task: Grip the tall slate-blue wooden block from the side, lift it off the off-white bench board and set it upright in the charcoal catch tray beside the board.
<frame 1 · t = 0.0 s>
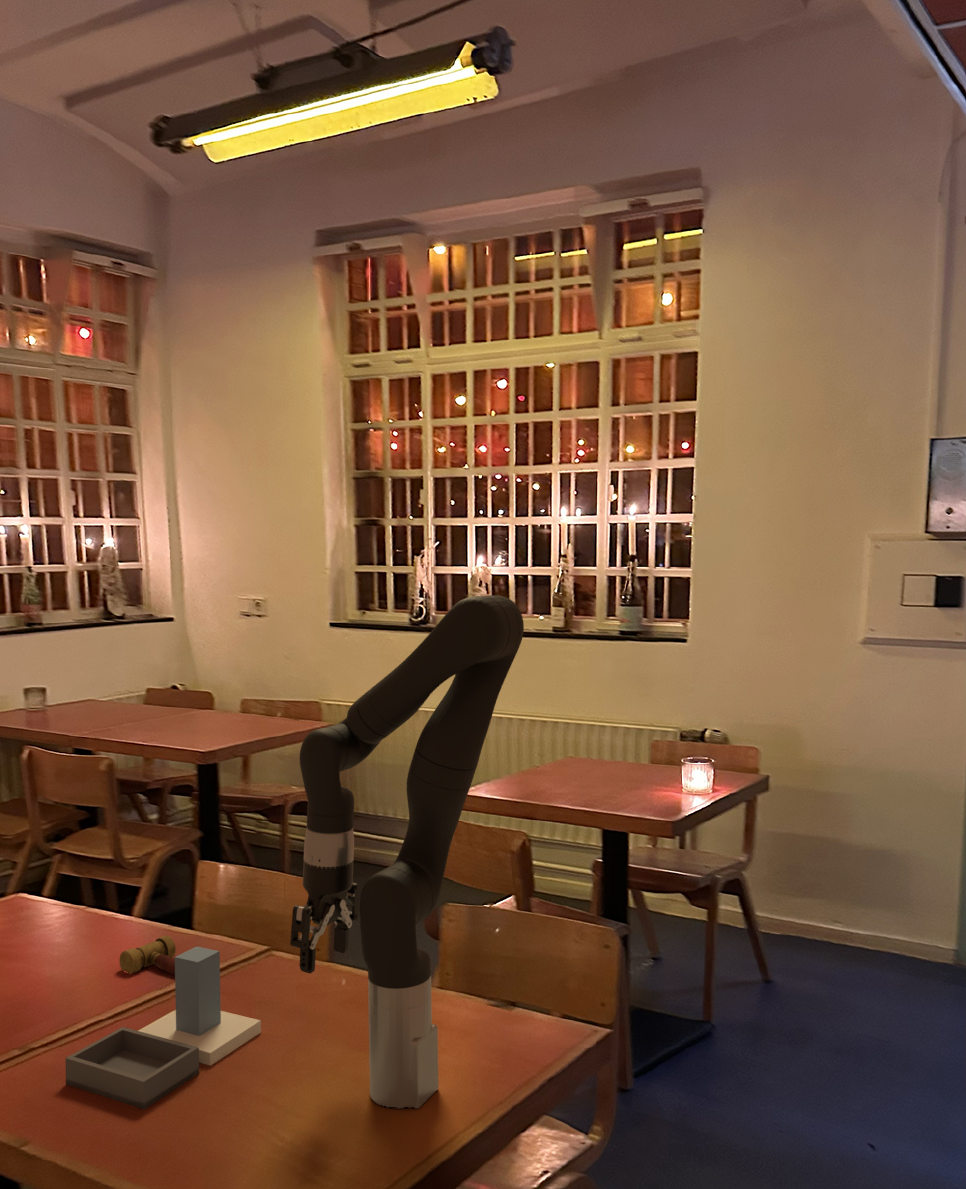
hand: (324, 961, 145), 17 cm above the table, tool pointing down, fingers open, 8 cm apart
tile block: (198, 1026, 157), point 2 cm above the table, touching bench board
bench board: (198, 1038, 157), on the table
catch tray: (133, 1078, 144), on the table
gavel: (174, 976, 183), on the table
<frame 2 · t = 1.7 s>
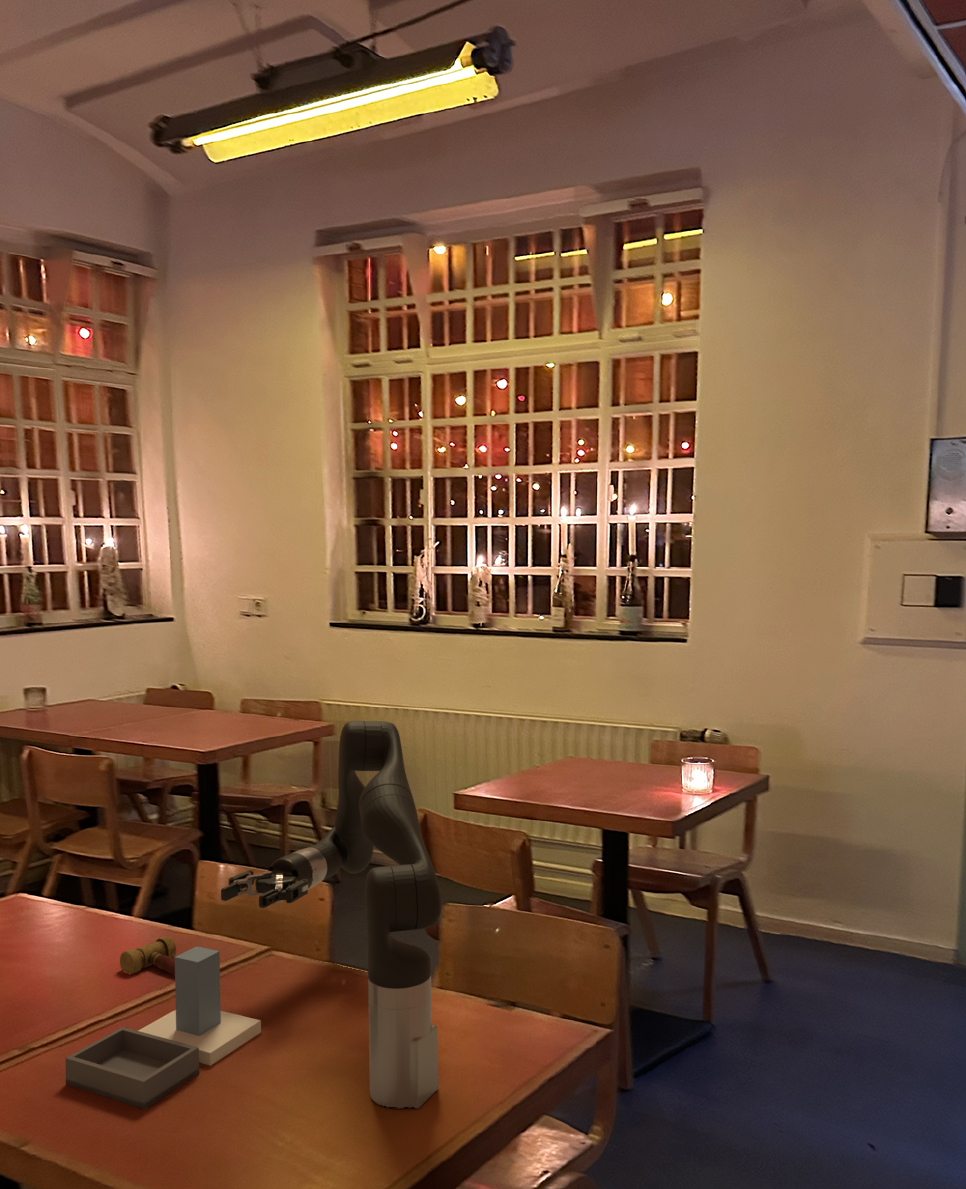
hand: (241, 898, 167), 20 cm above the table, tool horizontal, fingers open, 8 cm apart
nothing on the table moved.
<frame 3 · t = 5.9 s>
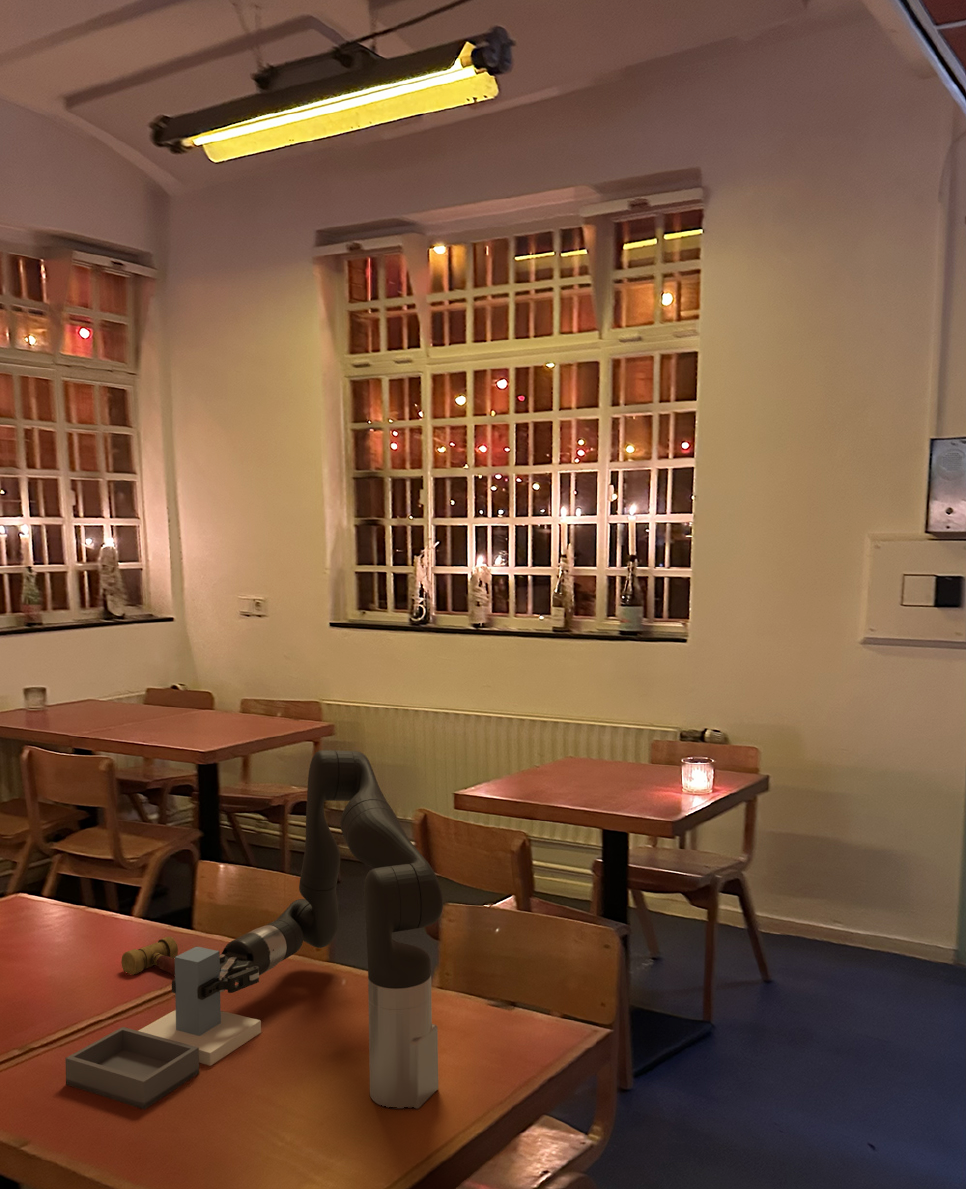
hand: (186, 990, 154), 9 cm above the table, tool horizontal, fingers closed on tile block, 5 cm apart
tile block: (198, 1026, 157), point 2 cm above the table, touching bench board, gripper
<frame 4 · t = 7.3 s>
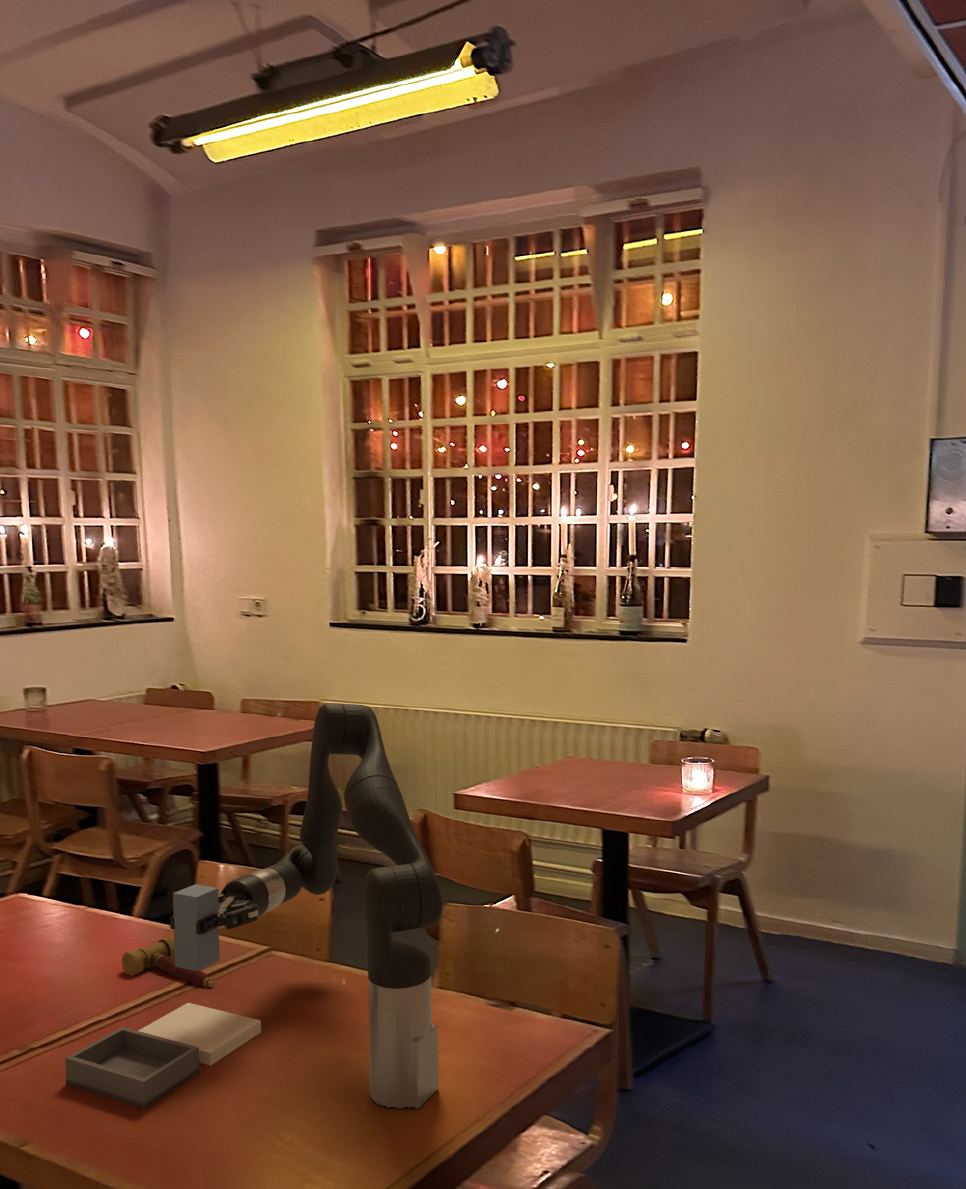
hand: (185, 926, 154), 20 cm above the table, tool horizontal, fingers closed on tile block, 5 cm apart
tile block: (197, 963, 157), point 13 cm above the table, touching gripper
everything else where it was.
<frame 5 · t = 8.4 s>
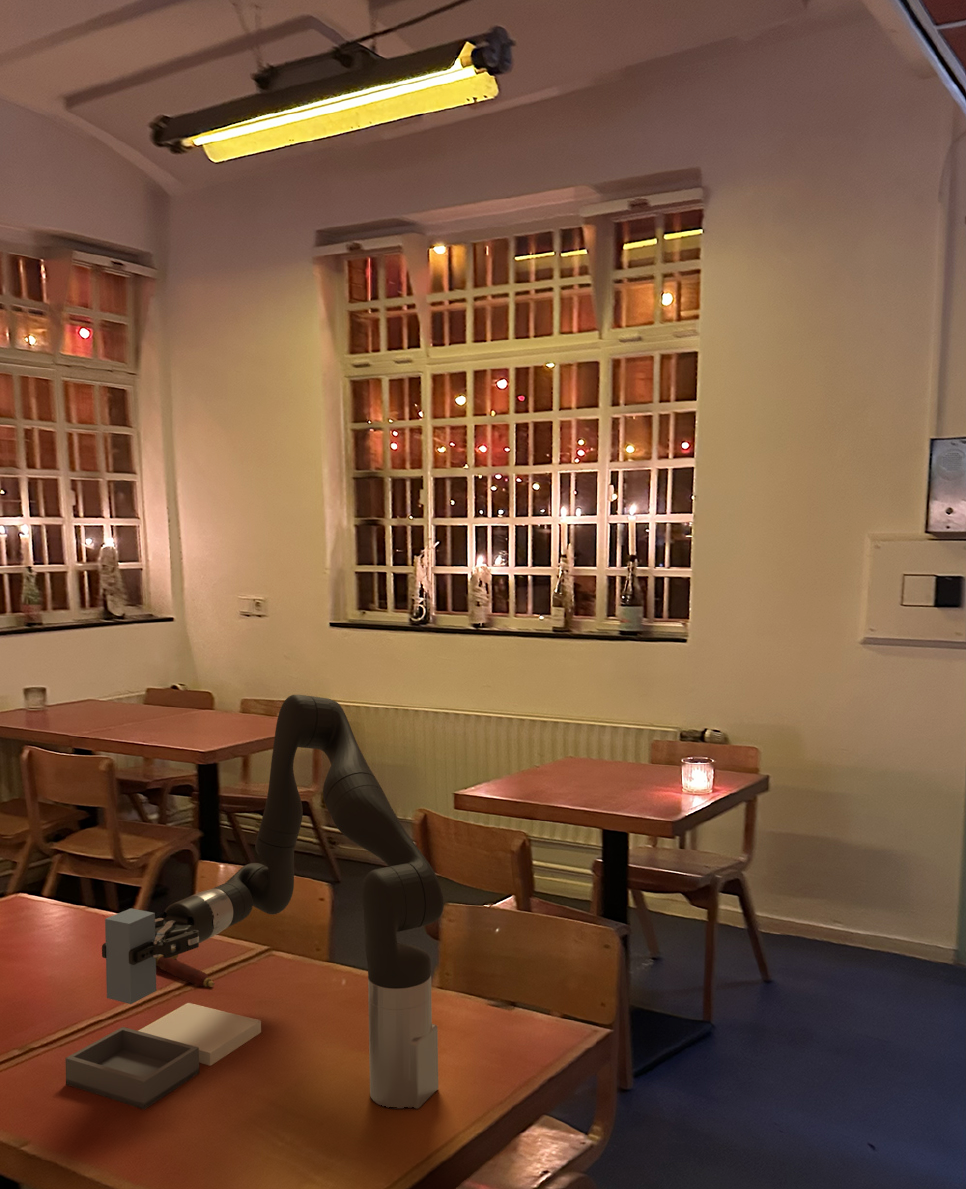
hand: (117, 954, 142), 20 cm above the table, tool horizontal, fingers closed on tile block, 5 cm apart
tile block: (131, 994, 144), point 13 cm above the table, touching gripper
when the fingers open (9 cm above the table, at t = 11.3 s): tile block drops 2 cm, resting on catch tray.
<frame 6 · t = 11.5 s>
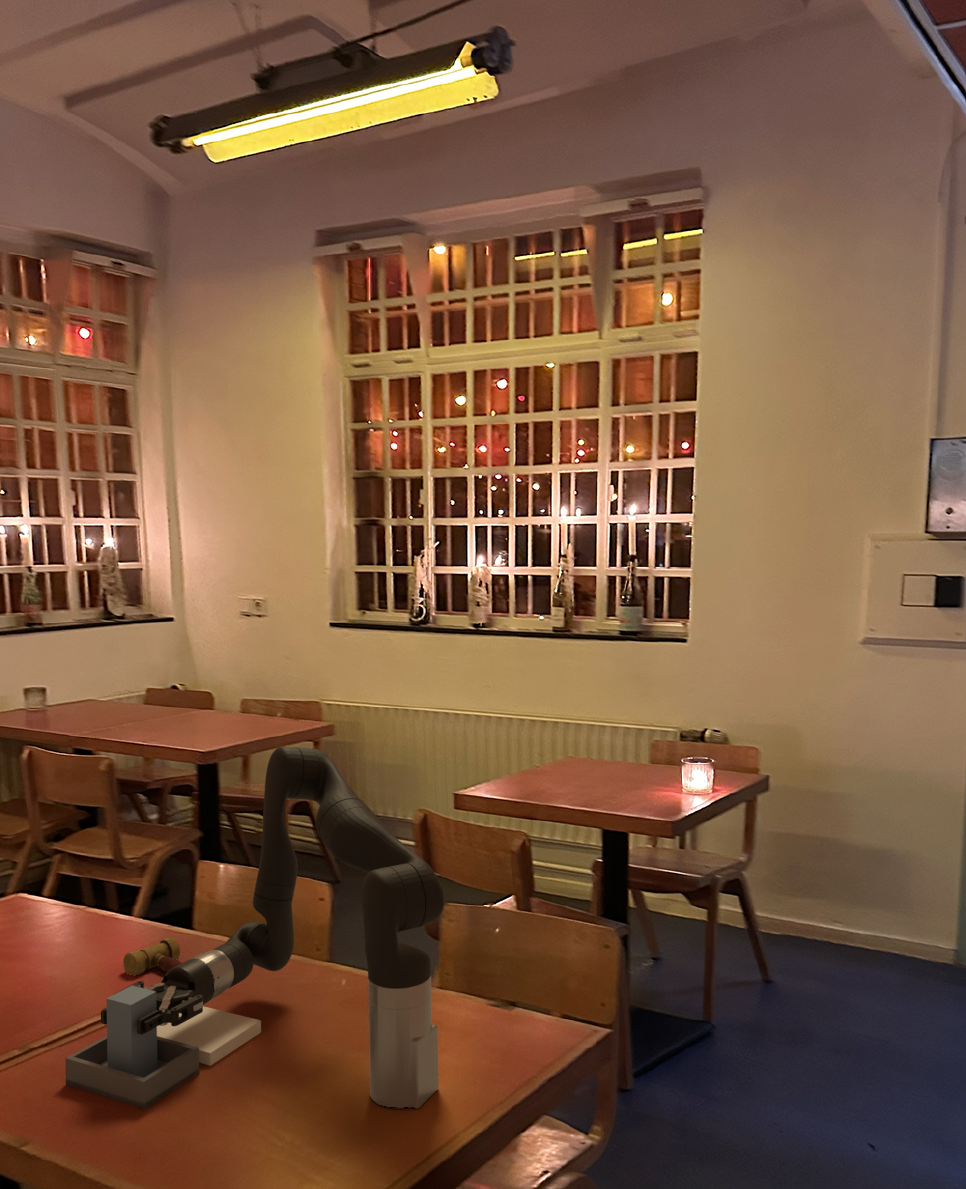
hand: (120, 1022, 142), 9 cm above the table, tool horizontal, fingers open, 7 cm apart
tile block: (132, 1073, 144), point 1 cm above the table, touching catch tray
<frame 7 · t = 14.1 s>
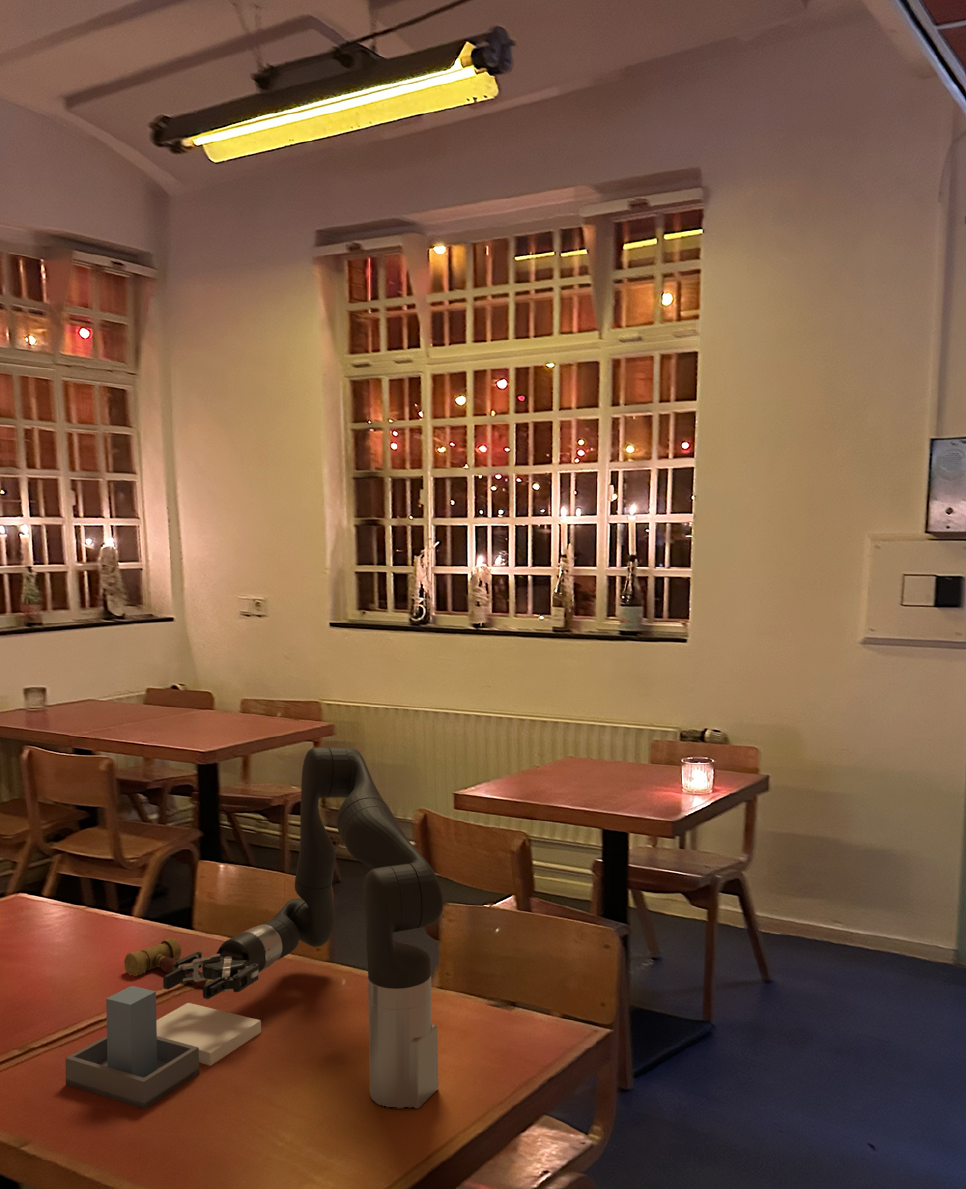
hand: (184, 988, 154), 10 cm above the table, tool horizontal, fingers open, 8 cm apart
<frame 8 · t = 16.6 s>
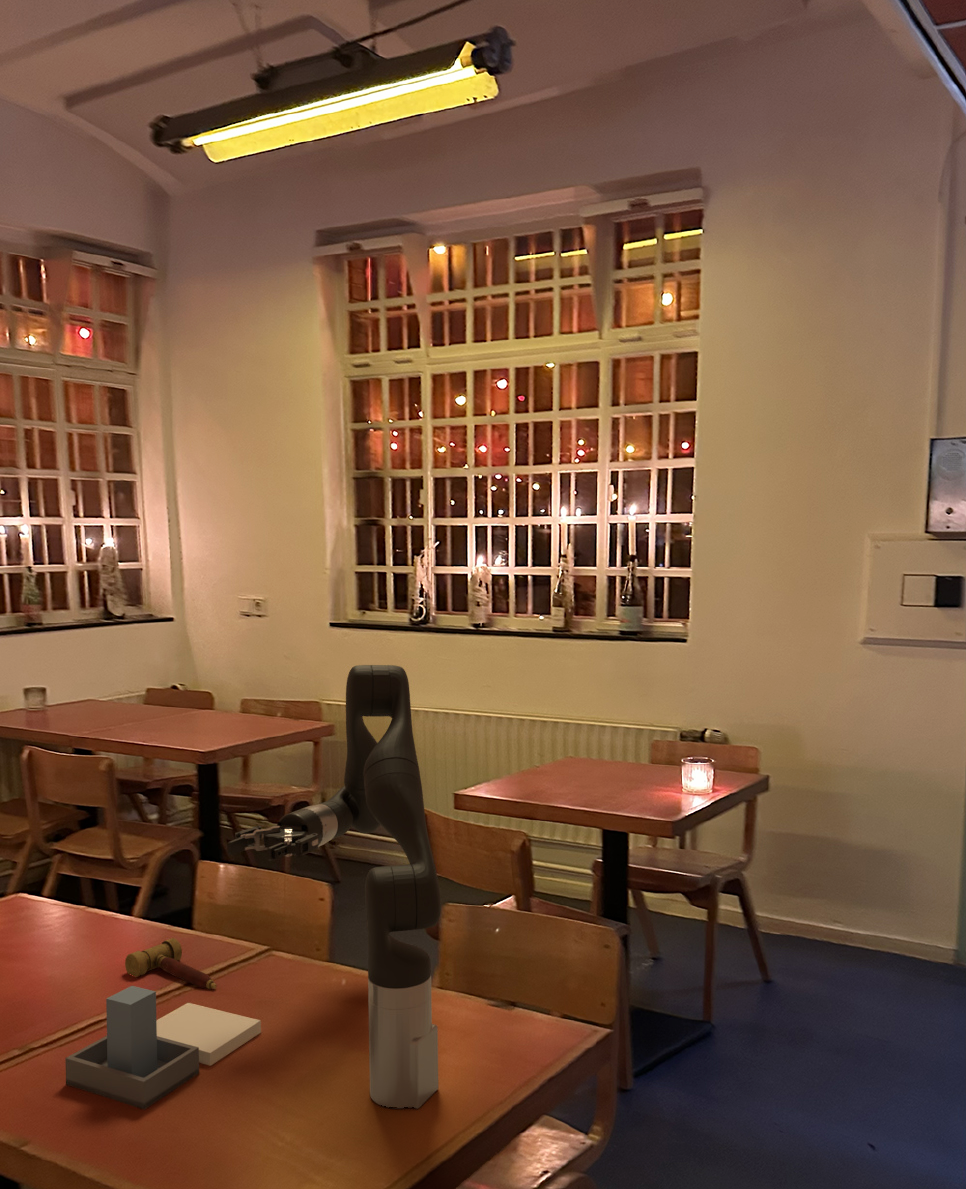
hand: (248, 851, 159), 30 cm above the table, tool horizontal, fingers open, 8 cm apart
at the end: tile block inside the target area on the catch tray (0.1 cm from its centre), point 0.8 cm above the catch tray's base; tile block tilted 0°; the gripper is holding nothing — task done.
